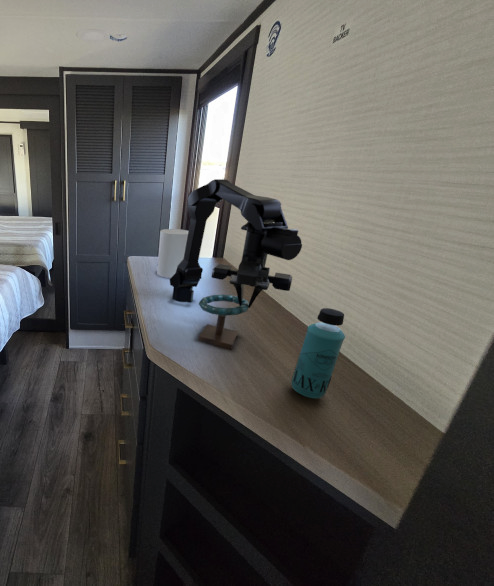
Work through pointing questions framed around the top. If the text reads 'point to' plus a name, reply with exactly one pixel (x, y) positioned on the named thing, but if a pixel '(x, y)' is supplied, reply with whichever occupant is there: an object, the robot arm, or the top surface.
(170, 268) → the canister
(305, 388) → the beverage bottle
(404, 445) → the top surface
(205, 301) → the teal ring
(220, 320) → the peg stand
